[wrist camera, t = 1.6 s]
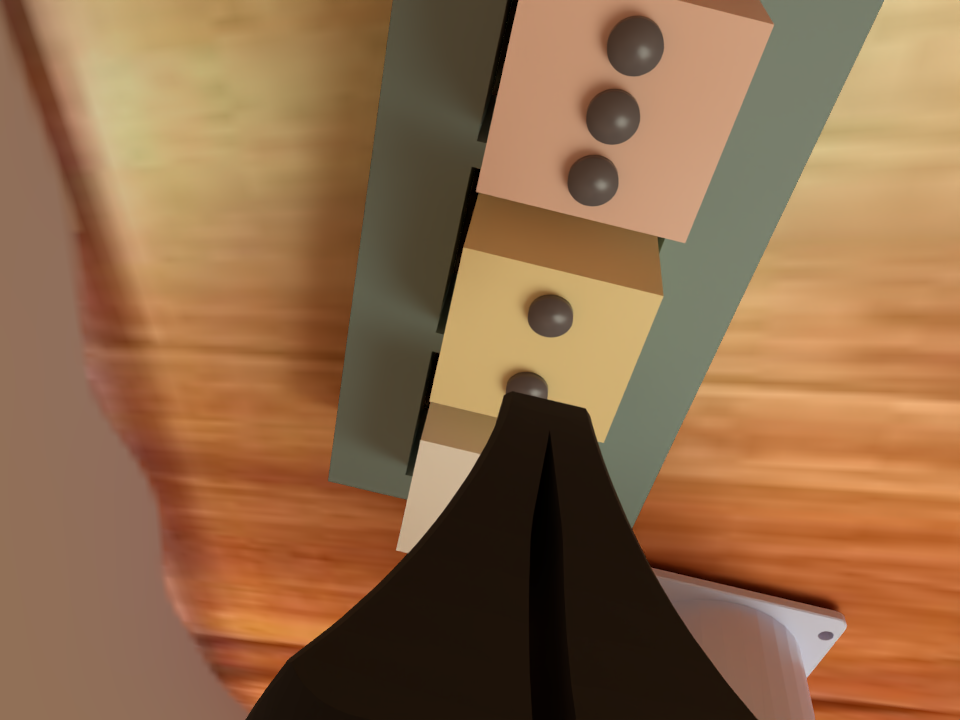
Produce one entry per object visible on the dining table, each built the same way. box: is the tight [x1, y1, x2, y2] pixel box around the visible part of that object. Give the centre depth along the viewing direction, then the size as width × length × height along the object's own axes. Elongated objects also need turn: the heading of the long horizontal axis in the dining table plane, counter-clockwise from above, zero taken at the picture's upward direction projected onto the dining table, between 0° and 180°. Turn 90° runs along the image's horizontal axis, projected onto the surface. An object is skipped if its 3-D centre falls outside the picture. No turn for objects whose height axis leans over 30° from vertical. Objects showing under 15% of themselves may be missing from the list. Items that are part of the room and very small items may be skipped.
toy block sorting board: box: [328, 0, 884, 528], centre depth 21 cm, size 17×9×3 cm, turn 168°
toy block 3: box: [429, 193, 664, 443], centre depth 19 cm, size 4×4×5 cm
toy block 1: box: [396, 402, 497, 553], centre depth 22 cm, size 4×4×5 cm
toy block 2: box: [476, 0, 774, 243], centre depth 16 cm, size 4×4×5 cm
